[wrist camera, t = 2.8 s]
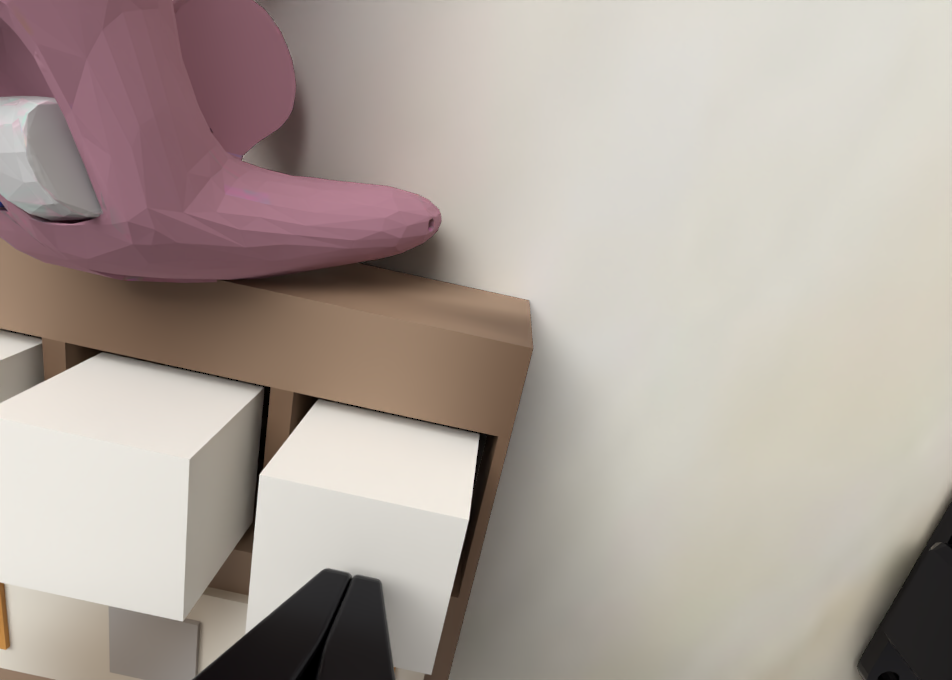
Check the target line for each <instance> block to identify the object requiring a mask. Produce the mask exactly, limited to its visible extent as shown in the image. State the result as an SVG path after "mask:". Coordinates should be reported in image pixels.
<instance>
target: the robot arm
mask: <svg viewBox="0 0 952 680" xmlns="http://www.w3.org/2000/svg"><path fill="white" fill-rule="evenodd" d="M857 667H858V671H859V673H860V675H861V676H862V678H863V680H952V502H951V504H950V506H949V507H948V509H947V511H946V513H945V514H944V516H943V518H942V520H941V521H940V523H939V525H938V526H937V528H936V530H935V532H934V533H933V535H932V537H931V538H930V540H929V542H928V544H927V545H926V547H925V549H924V550H923V552H922V554H921V556H920V557H919V559H918V561H917V562H916V564H915V566H914V568H913V569H912V571H911V573H910V574H909V576H908V578H907V580H906V581H905V583H904V585H903V586H902V588H901V590H900V592H899V593H898V595H897V597H896V598H895V600H894V602H893V604H892V605H891V607H890V609H889V610H888V612H887V614H886V616H885V617H884V619H883V621H882V622H881V624H880V626H879V628H878V629H877V631H876V633H875V635H874V636H873V638H872V640H871V641H870V643H869V645H868V647H867V648H866V650H865V652H864V653H863V655H862V657H861V659H860V660H859V663H858V666H857ZM192 680H396V679H395V672H394V665H393V658H392V651H391V644H390V637H389V630H388V622H387V615H386V608H385V601H384V594H383V587H382V583H381V581H380V580H379V579H377V578H372V577H368V576H363V575H355V576H354V577H353V578H352V575H351V574H350V573H349V572H345V571H340V570H335V569H331V568H325V569H323V570H322V571H320V572H319V573H318V574H317V575H315V576H314V577H313V578H312V579H311V580H310V581H308V582H307V583H306V584H305V585H304V586H302V587H301V588H300V589H299V590H298V591H296V592H295V593H294V594H293V595H292V596H291V597H289V598H288V599H287V600H286V601H285V602H283V603H282V604H281V605H280V606H279V607H277V608H276V609H275V610H274V611H273V612H271V613H270V614H269V615H268V616H267V617H266V618H264V619H263V620H262V621H261V622H260V623H258V624H257V625H256V626H255V627H254V628H252V629H251V630H250V631H249V632H248V633H246V634H245V635H244V636H243V637H242V638H241V639H239V640H238V641H237V642H236V643H235V644H233V645H232V646H231V647H230V648H229V649H227V650H226V651H225V652H224V653H223V654H221V655H220V656H219V657H218V658H217V659H216V660H214V661H213V662H212V663H211V664H210V665H208V666H207V667H206V668H205V669H204V670H202V671H201V672H200V673H199V674H198V675H196V676H195V677H194V678H193V679H192Z"/></svg>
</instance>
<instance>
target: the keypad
mask: <svg viewBox="0 0 952 680" xmlns="http://www.w3.org/2000/svg"><path fill="white" fill-rule="evenodd" d="M0 328H1V329H5V330H10V331H15V332H19V333H24V334H28V335H33V336H38V337H42V347H43V364H44V381H46V380H48V379H50V378H52V377H54V376H56V375H58V374H60V373H62V372H64V371H66V370H68V369H70V368H72V367H74V366H76V365H78V364H80V363H82V362H84V361H86V360H88V359H90V358H92V357H94V356H96V355H98V354H100V353H102V352H104V353H109V354H114V355H118V356H123V357H127V358H132V359H137V360H141V361H146V362H150V363H155V364H160V365H164V366H165V364H167V365H171V366H176V367H180V368H185V369H190V370H194V371H199V372H203V373H208V374H213V375H217V376H222V377H226V378H231V379H236V380H240V381H245V382H250V383H254V384H259V385H263V386H268V387H271V390H270V400H269V411H268V422H267V433H266V444H265V455H264V460H261V459H258V466H257V478H256V489H255V501H254V512H253V522H252V523H251V525H250V526H249V528H248V529H247V531H246V532H245V534H244V535H243V536H242V538H241V539H240V541H239V542H238V544H237V545H236V546H235V548H234V549H233V551H232V552H231V554H230V555H229V556H228V558H227V559H226V561H225V562H224V564H223V565H222V566H221V568H220V569H219V571H218V572H217V574H216V575H215V576H214V578H213V579H212V581H211V582H210V584H209V585H208V586H207V588H206V589H205V591H204V592H203V594H202V595H201V597H200V598H199V599H198V601H197V602H196V604H195V605H194V607H193V608H192V609H191V611H190V612H189V614H188V615H187V617H186V618H185V619H184V621H183V622H182V621H178V620H173V619H168V618H164V617H159V616H154V615H150V614H145V613H140V612H136V611H131V610H126V609H122V608H117V607H112V606H108V605H103V604H99V603H94V602H89V601H85V600H80V599H75V598H71V597H66V596H61V595H57V594H52V593H47V592H43V591H38V590H33V589H29V588H24V587H19V586H15V585H10V584H5V583H1V582H0V680H192V679H193V678H194V677H195V676H196V675H198V674H199V673H200V672H201V671H202V670H204V669H205V668H206V667H207V666H208V665H210V664H211V663H212V662H213V661H214V660H216V659H217V658H218V657H219V656H220V655H221V654H223V653H224V652H225V651H226V650H227V649H229V648H230V647H231V646H232V645H233V644H235V643H236V642H237V641H238V640H239V639H241V638H242V637H243V636H244V635H245V631H246V620H247V609H248V597H249V586H250V575H251V564H252V553H253V542H254V530H255V519H256V508H257V497H258V486H259V475H260V473H261V472H262V471H263V469H264V468H265V467H266V466H267V464H268V463H269V462H270V460H271V459H272V458H273V457H274V455H275V454H276V453H277V451H278V450H279V449H280V448H281V446H282V445H283V444H284V442H285V441H286V440H287V439H288V437H289V436H290V435H291V433H292V432H293V431H294V430H295V428H296V427H297V426H298V424H299V423H300V422H301V421H302V419H303V418H304V417H305V415H306V414H307V413H308V412H309V410H310V409H311V408H312V406H313V405H314V404H315V403H316V401H317V400H318V399H321V400H325V401H330V402H335V401H337V402H342V403H346V404H351V405H355V406H360V407H365V408H369V409H374V410H378V411H383V412H388V413H392V414H397V415H402V416H406V417H411V418H415V419H420V420H425V421H429V422H434V423H438V424H443V425H448V426H452V427H457V428H461V429H466V430H471V431H475V432H480V433H484V434H487V437H486V441H485V445H484V449H483V453H482V457H481V461H480V466H479V470H478V474H477V478H476V482H475V486H474V490H473V495H472V499H471V508H470V516H469V522H468V526H467V530H466V534H465V538H464V542H463V546H462V551H461V555H460V559H459V563H458V567H457V571H456V575H455V579H454V583H453V588H452V592H451V596H450V600H449V604H448V608H447V612H446V616H445V620H444V625H443V629H442V633H441V637H440V641H439V645H438V649H437V653H436V658H435V662H434V666H433V670H432V674H431V675H429V674H424V673H420V672H415V671H410V670H406V669H401V668H396V667H394V672H395V679H396V680H448V677H449V674H450V670H451V666H452V662H453V658H454V654H455V650H456V646H457V642H458V639H459V635H460V631H461V627H462V623H463V619H464V615H465V611H466V608H467V604H468V600H469V596H470V592H471V588H472V584H473V580H474V576H475V573H476V569H477V565H478V561H479V557H480V553H481V549H482V545H483V542H484V538H485V534H486V530H487V526H488V522H489V518H490V514H491V510H492V507H493V503H494V499H495V495H496V491H497V487H498V483H499V479H500V476H501V472H502V468H503V464H504V460H505V456H506V452H507V448H508V444H509V441H510V437H511V433H512V429H513V425H514V421H515V417H516V413H517V410H518V406H519V402H520V398H521V394H522V390H523V386H524V382H525V378H526V375H527V371H528V367H529V363H530V359H531V355H532V351H533V340H532V328H531V317H530V305H529V300H525V299H520V298H516V297H511V296H506V295H502V294H497V293H493V292H488V291H484V290H479V289H474V288H470V287H465V286H461V285H456V284H452V283H447V282H442V281H438V280H433V279H429V278H424V277H419V276H415V275H410V274H406V273H401V272H397V271H392V270H387V269H383V268H378V267H374V266H369V265H365V264H360V263H353V264H347V265H341V266H335V267H329V268H323V269H317V270H312V271H306V272H300V273H294V274H288V275H282V276H275V277H269V278H259V279H239V280H217V282H199V283H176V282H151V281H126V280H119V279H114V278H110V277H105V276H101V275H97V274H92V273H88V272H84V271H79V270H75V269H71V268H67V267H62V266H58V265H54V264H49V263H45V262H42V261H40V260H38V259H36V258H34V257H32V256H29V255H27V254H25V253H23V252H21V251H19V250H17V249H15V248H14V247H13V246H11V245H10V244H9V243H7V242H6V241H5V240H3V239H2V238H1V237H0Z"/></svg>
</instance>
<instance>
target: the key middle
mask: <svg viewBox="0 0 952 680" xmlns="http://www.w3.org/2000/svg"><path fill="white" fill-rule="evenodd" d="M263 398H264V387H261V386H256V385H252V384H247V383H243V382H238V381H233V380H229V379H224V378H220V377H215V376H210V375H206V374H201V373H197V372H192V371H187V370H183V369H178V368H173V367H169V366H164V365H160V364H155V363H150V362H146V361H141V360H137V359H132V358H127V357H123V356H118V355H114V354H109V353H104V352H102V353H100V354H98V355H96V356H94V357H92V358H90V359H88V360H86V361H84V362H82V363H80V364H78V365H76V366H74V367H72V368H70V369H68V370H66V371H64V372H62V373H60V374H58V375H56V376H54V377H52V378H50V379H48V380H46V381H44V382H42V383H40V384H38V385H36V386H34V387H32V388H30V389H28V390H26V391H24V392H22V393H20V394H18V395H16V396H14V397H12V398H10V399H8V400H6V401H4V402H2V403H0V582H1V583H5V584H10V585H15V586H19V587H24V588H29V589H33V590H38V591H43V592H47V593H52V594H57V595H61V596H66V597H71V598H75V599H80V600H85V601H89V602H94V603H99V604H103V605H108V606H112V607H117V608H122V609H126V610H131V611H136V612H140V613H145V614H150V615H154V616H159V617H164V618H168V619H173V620H178V621H182V622H183V621H184V619H185V618H186V617H187V615H188V614H189V612H190V611H191V609H192V608H193V607H194V605H195V604H196V602H197V601H198V599H199V598H200V597H201V595H202V594H203V592H204V591H205V589H206V588H207V586H208V585H209V584H210V582H211V581H212V579H213V578H214V576H215V575H216V574H217V572H218V571H219V569H220V568H221V566H222V565H223V564H224V562H225V561H226V559H227V558H228V556H229V555H230V554H231V552H232V551H233V549H234V548H235V546H236V545H237V544H238V542H239V541H240V539H241V538H242V536H243V535H244V534H245V532H246V531H247V529H248V528H249V526H250V525H251V523H252V522H253V512H254V501H255V489H256V478H257V466H258V455H259V444H260V432H261V421H262V409H263Z"/></svg>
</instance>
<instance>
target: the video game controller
mask: <svg viewBox="0 0 952 680" xmlns="http://www.w3.org/2000/svg"><path fill="white" fill-rule="evenodd" d="M295 92H296V82H295V73H294V68H293V62H292V58H291V56H290V53H289V50H288V47H287V45H286V42H285V40H284V38H283V35H282V33H281V31H280V30H279V28H278V27H277V25H276V24H275V22H274V21H273V19H272V18H271V17H270V15H269V14H268V13H267V12H266V11H265V9H264V8H262V7H261V6H260V5H258V4H257V3H256V2H254V1H253V0H0V237H1V238H2V239H3V240H5V241H6V242H7V243H9V244H10V245H11V246H13V247H14V248H15V249H17V250H19V251H21V252H23V253H25V254H27V255H29V256H32V257H34V258H36V259H38V260H40V261H42V262H45V263H49V264H54V265H58V266H62V267H67V268H71V269H75V270H79V271H84V272H88V273H92V274H97V275H101V276H105V277H110V278H114V279H119V280H126V281H151V282H176V283H199V282H217V280H239V279H259V278H269V277H275V276H282V275H288V274H294V273H300V272H306V271H312V270H317V269H323V268H329V267H335V266H341V265H347V264H353V263H358V262H364V261H370V260H376V259H381V258H385V257H389V256H393V255H397V254H401V253H403V252H405V251H407V250H410V249H412V248H414V247H416V246H419V245H421V244H423V243H424V242H426V241H427V240H428V239H429V238H431V237H432V236H433V235H434V234H435V233H436V232H437V231H438V228H439V226H440V224H441V214H440V211H439V209H438V208H437V207H436V206H435V205H434V204H433V203H431V202H430V201H429V200H428V199H426V198H424V197H422V196H420V195H418V194H414V193H411V192H407V191H404V190H401V189H397V188H394V187H389V186H383V185H374V184H364V183H354V182H343V181H335V180H328V179H321V178H314V177H303V176H292V175H288V174H284V173H280V172H276V171H272V170H268V169H264V168H261V167H258V166H255V165H252V164H249V163H246V162H243V161H242V157H243V155H244V154H245V153H246V152H247V151H249V150H250V149H251V148H252V147H253V146H254V145H255V144H256V143H258V142H259V141H261V140H262V139H264V138H265V137H267V136H268V135H270V134H271V133H273V132H274V131H276V130H277V129H279V128H280V127H281V126H282V125H283V124H284V122H285V121H286V120H287V119H288V118H289V116H290V114H291V111H292V109H293V105H294V100H295Z"/></svg>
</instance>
